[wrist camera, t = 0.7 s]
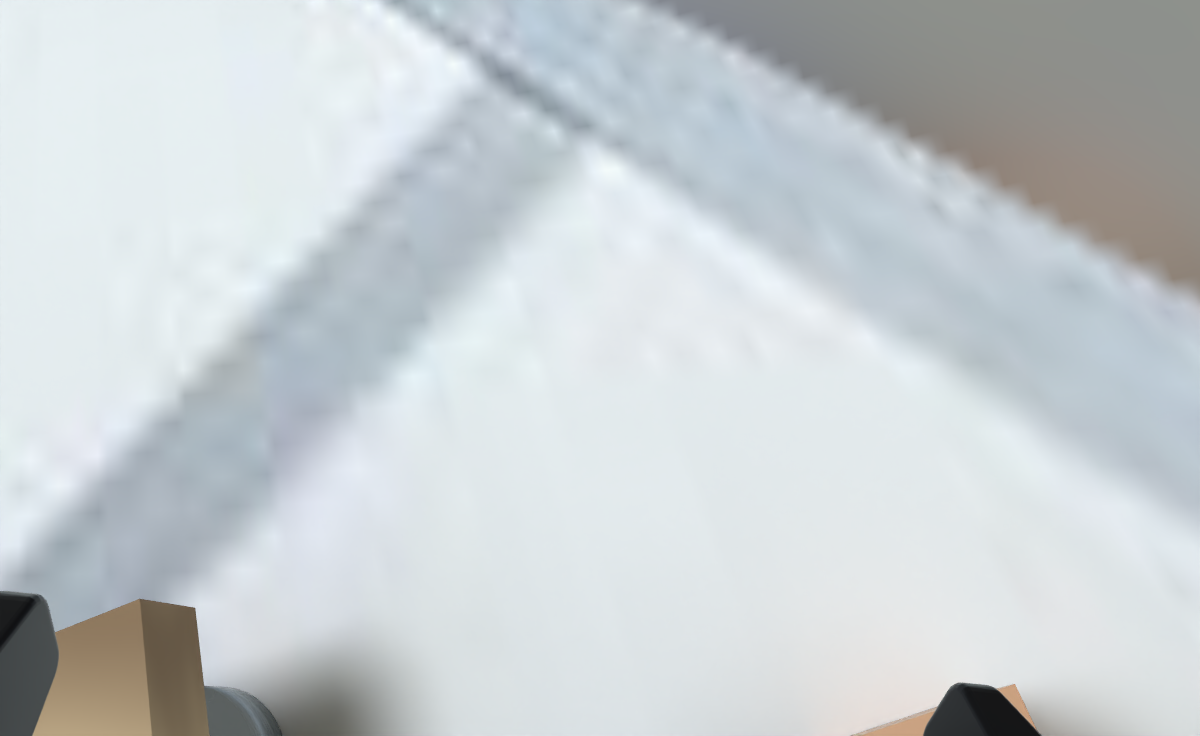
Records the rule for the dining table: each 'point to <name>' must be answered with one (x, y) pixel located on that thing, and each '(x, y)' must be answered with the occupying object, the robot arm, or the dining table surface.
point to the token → (237, 714)
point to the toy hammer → (910, 729)
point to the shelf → (128, 675)
